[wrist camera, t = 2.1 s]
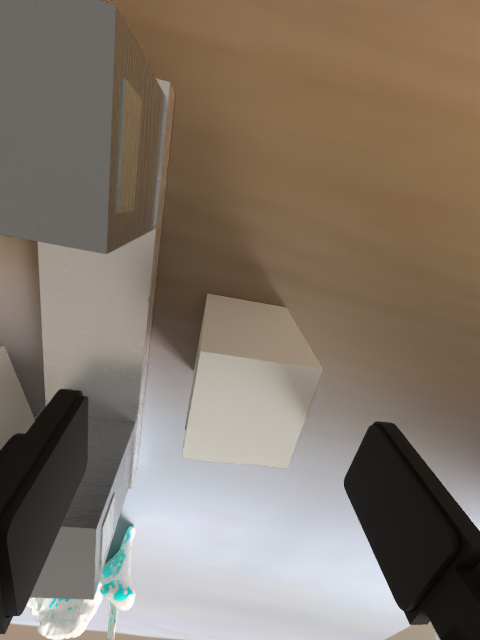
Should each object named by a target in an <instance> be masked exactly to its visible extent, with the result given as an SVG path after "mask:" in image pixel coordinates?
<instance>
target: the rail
mask: <svg viewBox="0 0 480 640" xmlns="http://www.w3.org/2000/svg"><path fill="white" fill-rule="evenodd" d="M174 103H175V92H174V90H173V88H172V86H171V83H170V82H168V81H164V80H160V79H157V78H155V76H154V74H153V72H152V71H151V69H150V67H149V65H148V63H147V61H146V59H145V58H144V56H143V54H142V52H141V50H140V48H139V47H138V45H137V43H136V41H135V39H134V37H133V36H132V34H131V32H130V30H129V28H128V26H127V24H126V23H125V21H124V19H123V17H122V15H121V13H120V12H119V10H118V8H117V6H116V5H114V4H111V3H108V2H104V1H101V0H0V235H5V236H10V237H16V238H21V239H27V240H32V241H37V242H38V261H39V281H40V302H41V323H42V343H43V364H44V385H45V406H47V405H48V403H49V402H50V401H51V399H52V398H53V397H54V395H55V394H56V393H57V391H58V390H59V389H70V390H80V391H82V393H83V396H87V397H88V462H87V467H86V471H85V473H84V476H83V478H82V480H81V483H80V485H79V487H78V489H77V492H76V494H75V496H74V499H73V501H72V503H71V505H70V508H69V510H68V512H67V514H66V517H65V519H64V521H63V523H62V526H61V528H60V530H59V533H58V535H57V537H56V539H55V542H54V544H53V546H52V548H51V551H50V553H49V555H48V557H47V560H46V562H45V564H44V567H43V569H42V571H41V573H40V576H39V578H38V580H37V582H36V585H35V587H34V589H33V591H32V594H31V596H30V598H59V599H90V600H94V597H95V594H96V591H97V587H98V584H99V581H100V578H101V574H102V571H103V568H104V565H105V562H106V558H107V555H108V552H109V549H110V545H111V542H112V539H113V536H114V533H115V529H116V526H117V523H118V520H119V516H120V513H121V510H122V507H123V504H124V500H125V497H126V494H127V491H128V488H131V487H132V483H133V480H134V477H135V473H136V470H137V463H138V453H139V443H140V434H141V424H142V414H143V404H144V395H145V385H146V375H147V366H148V356H149V346H150V336H151V327H152V317H153V307H154V297H155V288H156V278H157V268H158V259H159V249H160V239H161V229H162V220H163V210H164V200H165V191H166V181H167V171H168V161H169V152H170V142H171V132H172V122H173V113H174Z"/></svg>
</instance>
